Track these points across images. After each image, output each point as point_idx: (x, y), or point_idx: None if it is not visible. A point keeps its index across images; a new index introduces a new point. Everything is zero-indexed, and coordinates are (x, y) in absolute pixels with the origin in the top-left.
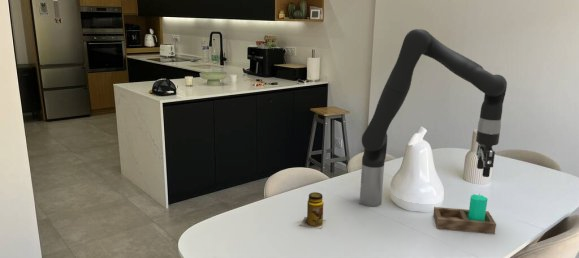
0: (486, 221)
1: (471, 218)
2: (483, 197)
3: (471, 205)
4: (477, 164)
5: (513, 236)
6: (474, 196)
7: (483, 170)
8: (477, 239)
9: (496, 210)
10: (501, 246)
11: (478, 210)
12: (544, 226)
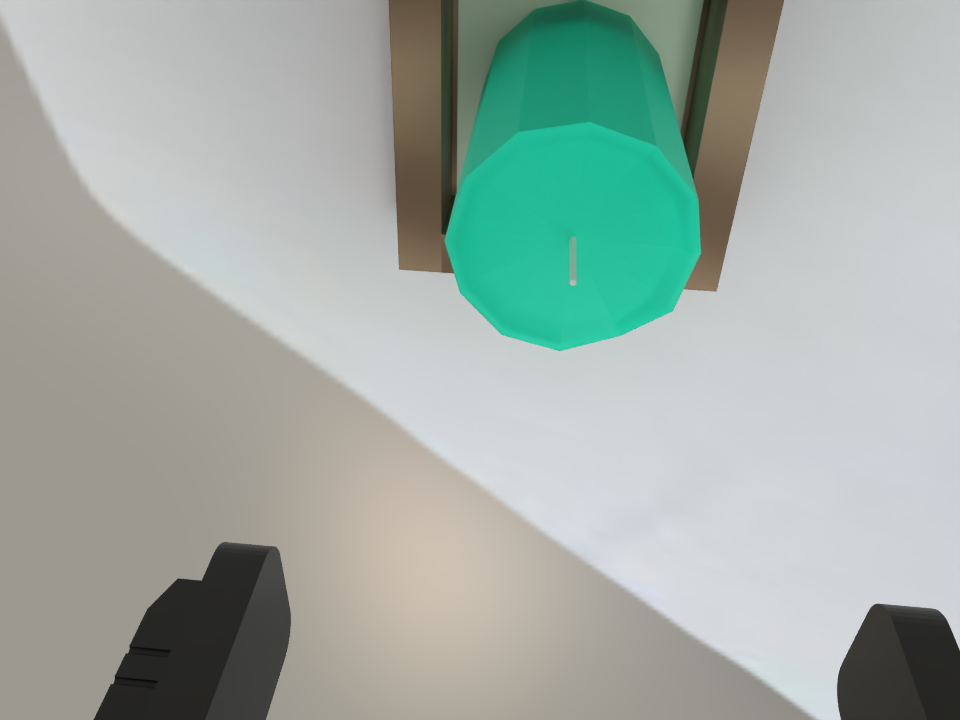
0: (440, 193)
1: (517, 44)
2: (621, 311)
3: (532, 88)
4: (956, 705)
5: (405, 346)
6: (656, 195)
7: (154, 691)
8: (249, 12)
9: (934, 384)
10: (185, 198)
11: (467, 154)
12: (615, 578)
